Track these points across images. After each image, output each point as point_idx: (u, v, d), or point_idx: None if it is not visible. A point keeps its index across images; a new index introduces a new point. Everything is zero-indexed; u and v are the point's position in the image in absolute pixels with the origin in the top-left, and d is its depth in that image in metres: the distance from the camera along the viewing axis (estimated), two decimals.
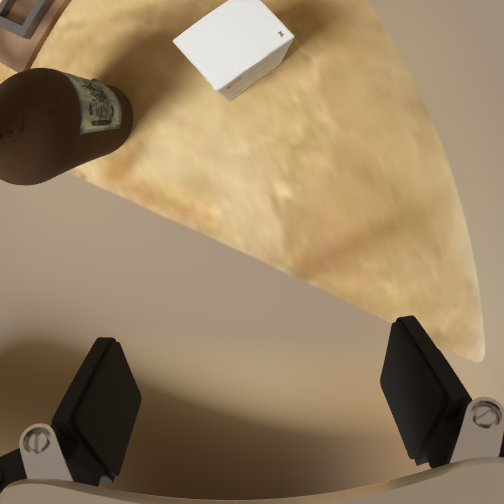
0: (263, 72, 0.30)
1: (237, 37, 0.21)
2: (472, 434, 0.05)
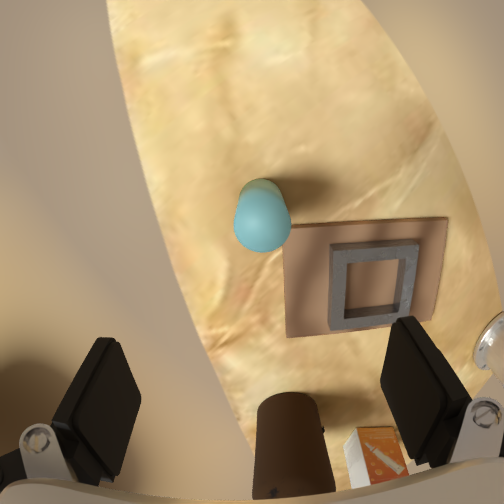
0: None
1: None
2: (472, 434, 0.05)
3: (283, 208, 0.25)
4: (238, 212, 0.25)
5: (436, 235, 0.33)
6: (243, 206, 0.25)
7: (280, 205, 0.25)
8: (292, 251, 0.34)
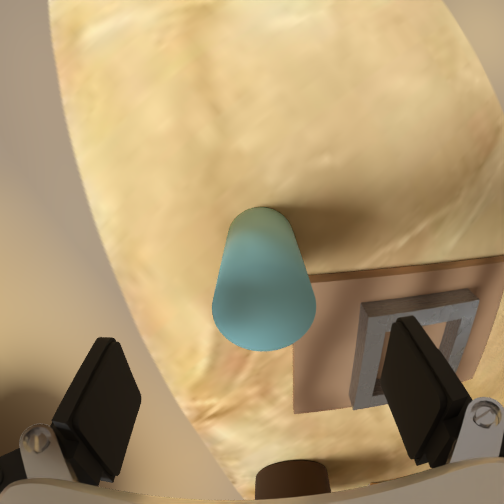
0: None
1: None
2: (472, 434, 0.05)
3: (303, 282, 0.13)
4: (219, 289, 0.13)
5: (495, 281, 0.22)
6: (228, 279, 0.13)
7: (298, 277, 0.13)
8: None
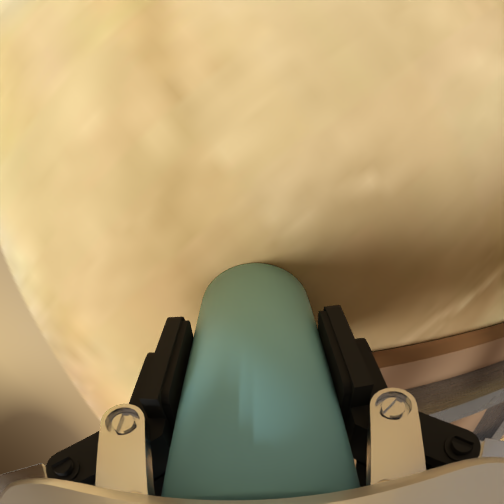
0: None
1: None
2: (385, 429, 0.06)
3: None
4: None
5: None
6: None
7: None
8: None
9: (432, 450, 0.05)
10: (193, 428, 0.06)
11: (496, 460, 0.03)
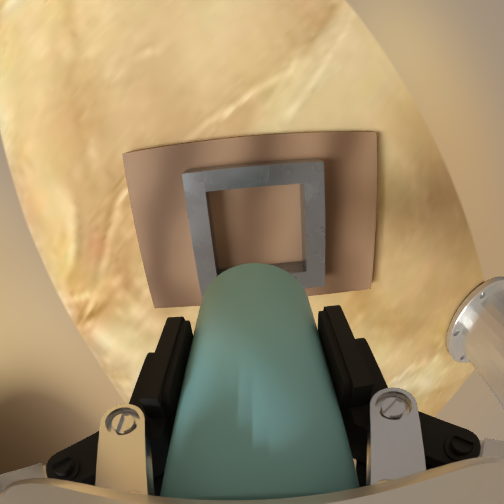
0: None
1: None
2: (385, 429, 0.06)
3: None
4: None
5: (359, 154, 0.24)
6: None
7: None
8: (138, 183, 0.24)
9: (432, 450, 0.05)
10: (192, 429, 0.06)
11: (496, 460, 0.03)
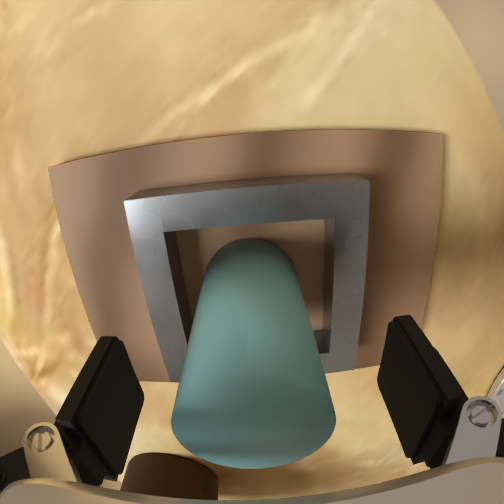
0: None
1: None
2: (468, 433, 0.05)
3: (319, 399, 0.07)
4: (180, 407, 0.07)
5: (418, 169, 0.14)
6: (193, 396, 0.07)
7: (311, 393, 0.07)
8: (71, 212, 0.15)
9: None
10: (202, 346, 0.09)
11: (496, 460, 0.03)
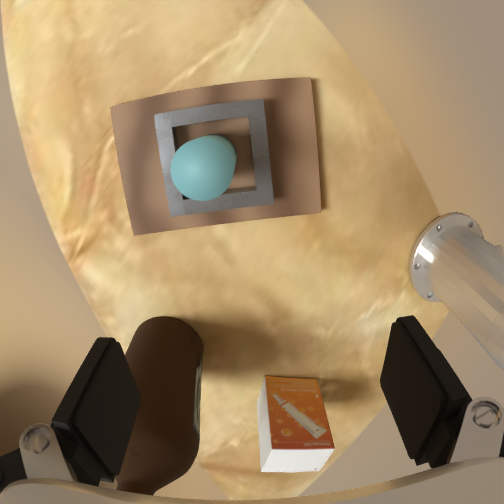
0: None
1: (298, 463, 0.33)
2: (472, 434, 0.05)
3: (224, 149, 0.21)
4: (175, 156, 0.21)
5: (297, 95, 0.28)
6: (180, 149, 0.21)
7: (220, 146, 0.21)
8: (122, 128, 0.29)
9: None
10: None
11: (496, 460, 0.03)
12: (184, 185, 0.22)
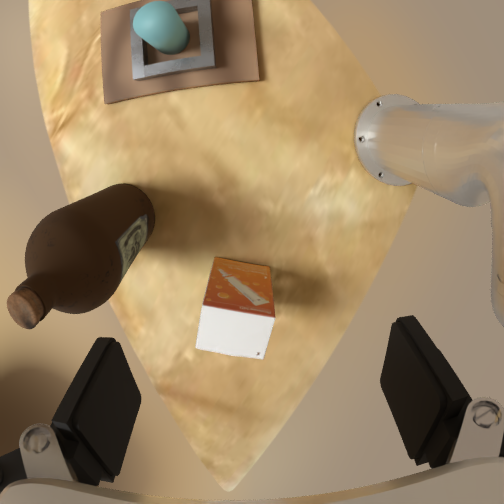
0: None
1: (235, 337, 0.35)
2: (472, 434, 0.05)
3: (171, 6, 0.24)
4: (137, 12, 0.23)
5: None
6: (142, 8, 0.23)
7: (169, 4, 0.23)
8: (107, 25, 0.31)
9: None
10: None
11: (496, 460, 0.03)
12: (140, 29, 0.24)
